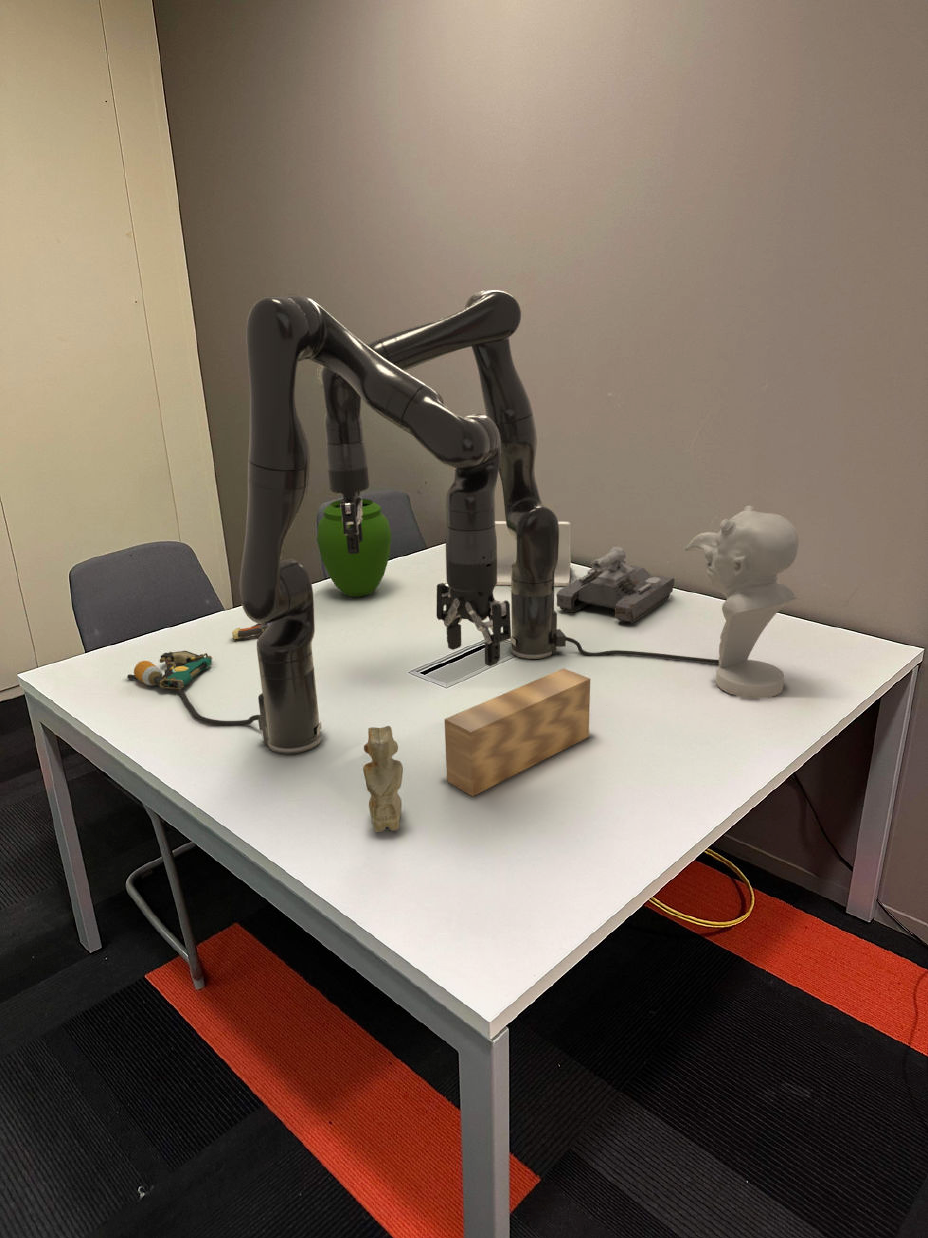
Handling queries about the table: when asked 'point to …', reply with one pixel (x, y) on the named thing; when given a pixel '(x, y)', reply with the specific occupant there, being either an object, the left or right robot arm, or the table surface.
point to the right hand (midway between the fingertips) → (355, 547)
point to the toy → (616, 588)
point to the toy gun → (249, 631)
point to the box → (516, 730)
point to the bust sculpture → (748, 593)
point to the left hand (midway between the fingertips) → (472, 656)
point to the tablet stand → (509, 548)
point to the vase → (370, 563)
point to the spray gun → (172, 669)
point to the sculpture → (383, 778)
